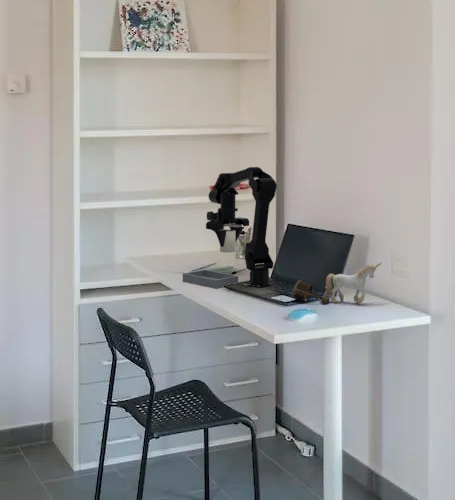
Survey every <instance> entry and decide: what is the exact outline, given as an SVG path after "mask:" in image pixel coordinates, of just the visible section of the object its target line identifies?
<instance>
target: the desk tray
mask: <svg viewBox="0 0 455 500" xmlns="http://www.w3.org/2000/svg"><path fill="white" fill-rule="evenodd" d="M182 282H183V283H189V284H193V285H198V286H202V287H208V288H213V289H220V288H225V287H224V286H225V285H229V284H234V283H238V284H239V275H235V274H232V273H231V274H230V273H225V272H219V271H215V270H214V271H213V270H210V269H209V270H208V269H201V270H200V269H199V270H196V271H194V270H193V271H188V272H186V273H185V272H184V273H182Z"/></svg>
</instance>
